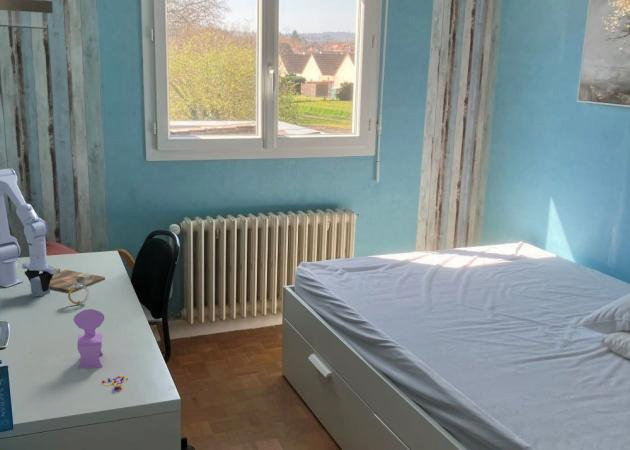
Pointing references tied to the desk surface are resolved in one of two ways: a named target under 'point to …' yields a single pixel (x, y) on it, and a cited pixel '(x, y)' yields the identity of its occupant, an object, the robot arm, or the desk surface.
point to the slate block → (37, 287)
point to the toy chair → (89, 337)
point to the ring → (74, 289)
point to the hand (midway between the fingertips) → (40, 289)
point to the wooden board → (72, 280)
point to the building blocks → (116, 385)
